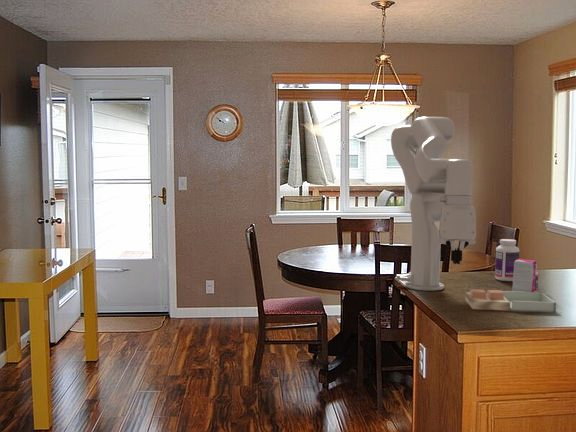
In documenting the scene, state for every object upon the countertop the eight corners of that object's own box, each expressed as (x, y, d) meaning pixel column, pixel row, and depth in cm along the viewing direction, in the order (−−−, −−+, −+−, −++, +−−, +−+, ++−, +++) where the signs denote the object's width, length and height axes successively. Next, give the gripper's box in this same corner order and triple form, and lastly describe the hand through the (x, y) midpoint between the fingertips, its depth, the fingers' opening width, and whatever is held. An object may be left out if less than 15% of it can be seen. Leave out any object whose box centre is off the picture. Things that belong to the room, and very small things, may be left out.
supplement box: (530, 298, 206) (532, 262, 205) (511, 296, 209) (513, 260, 208) (534, 295, 211) (536, 260, 210) (515, 293, 214) (517, 258, 213)
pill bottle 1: (520, 279, 238) (522, 239, 236) (515, 283, 231) (517, 242, 230) (497, 276, 242) (499, 237, 241) (491, 280, 235) (493, 240, 234)
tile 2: (489, 298, 194) (489, 292, 194) (486, 295, 198) (487, 289, 198) (503, 299, 194) (503, 293, 193) (500, 296, 198) (500, 290, 197)
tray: (512, 311, 189) (512, 301, 189) (501, 300, 203) (501, 290, 202) (555, 313, 188) (556, 302, 187) (541, 302, 202) (541, 292, 201)
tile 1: (472, 297, 194) (472, 291, 194) (469, 295, 198) (470, 289, 198) (486, 298, 194) (486, 292, 194) (483, 295, 198) (483, 289, 198)
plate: (472, 309, 191) (472, 300, 191) (465, 299, 203) (465, 292, 202) (509, 310, 190) (510, 302, 190) (500, 301, 202) (500, 293, 201)
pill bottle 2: (538, 293, 214) (540, 266, 213) (522, 292, 215) (523, 265, 214) (536, 290, 219) (537, 263, 219) (519, 289, 220) (521, 262, 220)
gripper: (433, 201, 191) (432, 264, 192) (486, 202, 190) (484, 266, 191) (430, 200, 198) (429, 261, 200) (481, 201, 197) (479, 262, 198)
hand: (456, 263), depth 195 cm, fingers closed
